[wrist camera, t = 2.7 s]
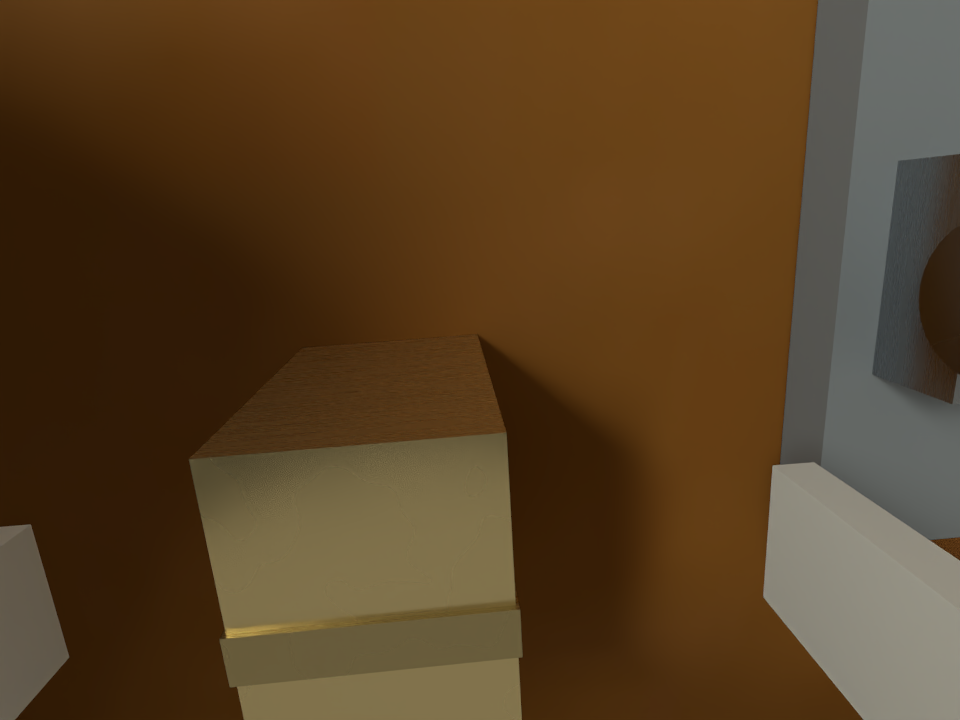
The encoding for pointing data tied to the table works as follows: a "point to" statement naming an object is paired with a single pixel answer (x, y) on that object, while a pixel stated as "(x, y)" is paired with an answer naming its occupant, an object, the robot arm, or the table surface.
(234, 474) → the tan rectangular block
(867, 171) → the base plate
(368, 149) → the table surface
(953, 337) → the shaft
